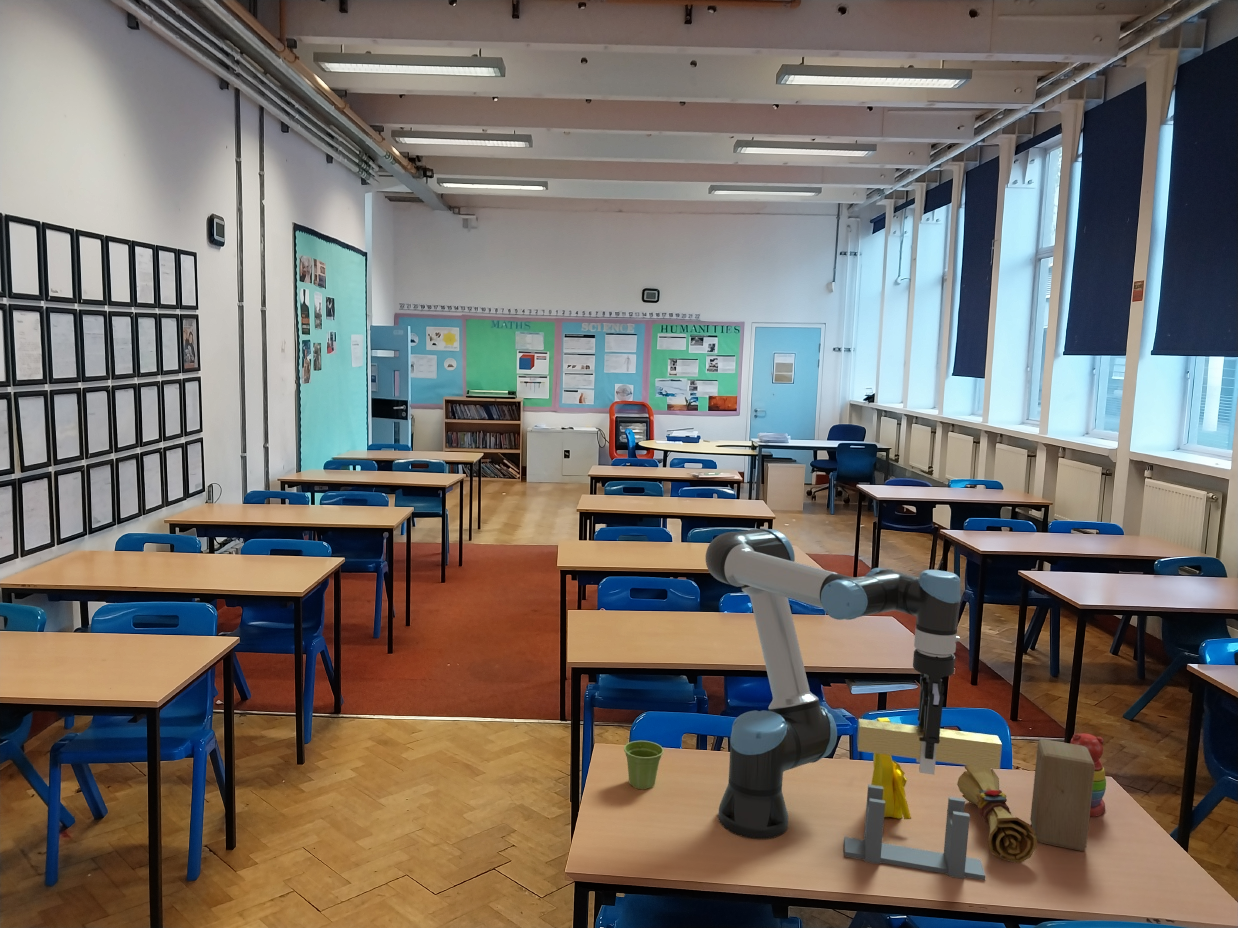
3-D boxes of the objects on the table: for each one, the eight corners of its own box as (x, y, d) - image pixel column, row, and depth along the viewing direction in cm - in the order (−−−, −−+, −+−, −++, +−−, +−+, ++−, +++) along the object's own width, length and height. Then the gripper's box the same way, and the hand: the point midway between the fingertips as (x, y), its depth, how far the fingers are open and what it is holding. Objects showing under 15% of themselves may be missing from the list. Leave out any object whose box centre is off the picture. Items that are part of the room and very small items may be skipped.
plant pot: (624, 772, 208) (626, 738, 207) (663, 776, 206) (665, 742, 205) (619, 790, 198) (621, 755, 197) (659, 795, 197) (661, 759, 196)
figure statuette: (917, 833, 185) (926, 736, 183) (882, 832, 185) (890, 735, 183) (889, 793, 203) (896, 704, 201) (857, 792, 203) (863, 703, 200)
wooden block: (1034, 842, 183) (1043, 754, 181) (1029, 821, 193) (1037, 736, 191) (1086, 853, 180) (1096, 763, 178) (1078, 830, 189) (1088, 744, 187)
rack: (844, 857, 174) (849, 797, 173) (844, 839, 181) (848, 781, 180) (985, 882, 168) (991, 819, 167) (979, 861, 175) (985, 801, 174)
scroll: (1036, 868, 174) (1041, 822, 173) (987, 862, 175) (991, 816, 174) (996, 803, 201) (1000, 762, 200) (954, 798, 202) (957, 758, 201)
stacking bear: (1102, 801, 203) (1110, 730, 202) (1109, 821, 194) (1118, 747, 192) (1052, 792, 207) (1059, 721, 205) (1057, 811, 198) (1064, 737, 196)
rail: (858, 750, 167) (859, 726, 166) (856, 742, 171) (858, 718, 170) (999, 769, 161) (1001, 743, 161) (995, 760, 165) (997, 735, 165)
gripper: (962, 667, 155) (952, 790, 157) (948, 640, 172) (938, 751, 174) (919, 662, 157) (909, 784, 159) (909, 636, 173) (900, 746, 175)
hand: (925, 767), depth 166 cm, fingers closed on rail, 4 cm apart
